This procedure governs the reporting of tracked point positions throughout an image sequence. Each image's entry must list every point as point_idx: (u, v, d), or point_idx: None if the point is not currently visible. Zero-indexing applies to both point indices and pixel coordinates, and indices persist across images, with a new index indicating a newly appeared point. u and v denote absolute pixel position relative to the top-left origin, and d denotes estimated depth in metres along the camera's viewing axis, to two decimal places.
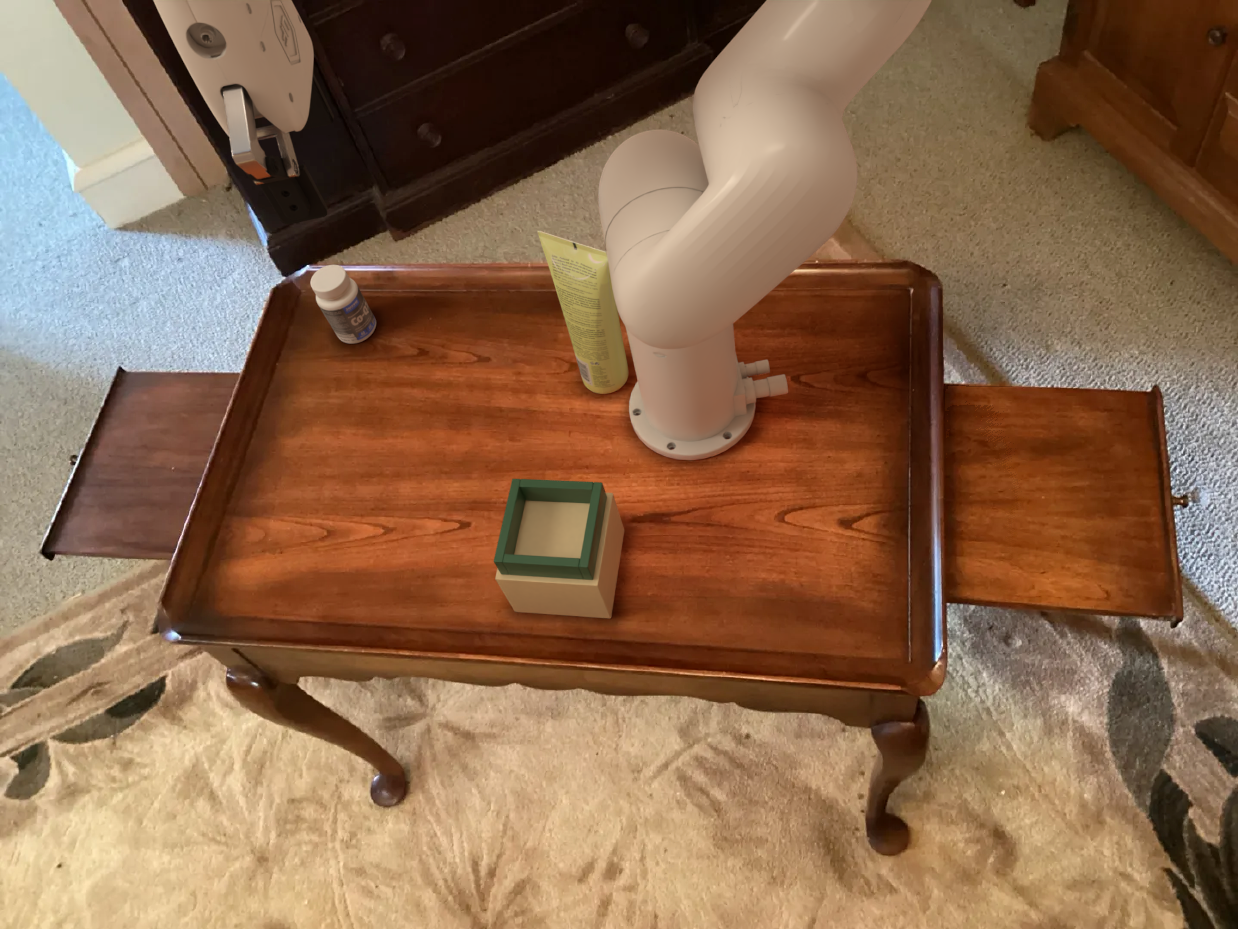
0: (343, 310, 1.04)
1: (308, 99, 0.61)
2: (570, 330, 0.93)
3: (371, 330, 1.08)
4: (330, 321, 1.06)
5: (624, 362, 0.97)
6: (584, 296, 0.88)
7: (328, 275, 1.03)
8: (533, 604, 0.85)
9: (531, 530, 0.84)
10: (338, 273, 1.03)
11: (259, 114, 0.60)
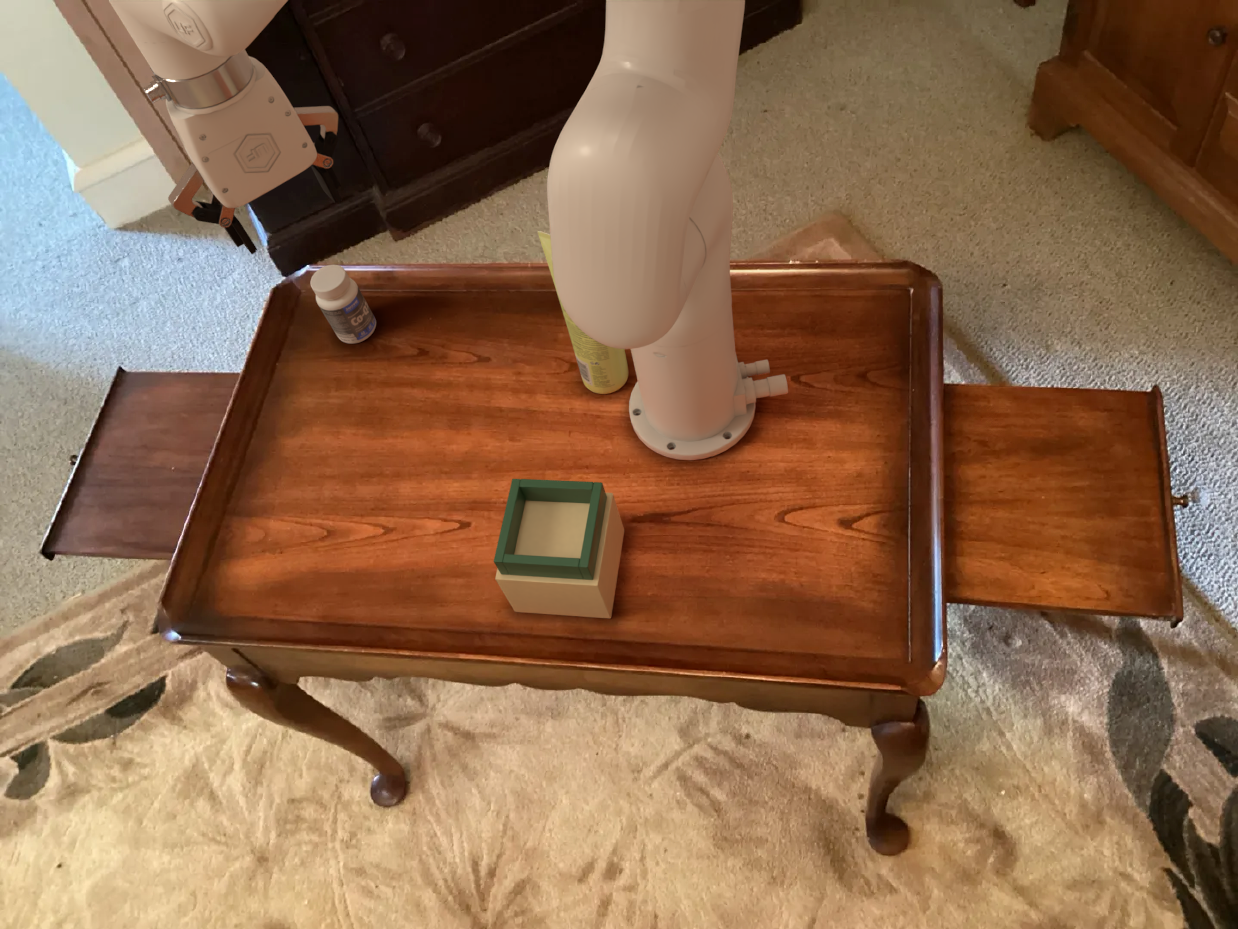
0: (343, 310, 1.04)
1: (258, 194, 0.89)
2: (570, 330, 0.93)
3: (371, 330, 1.08)
4: (330, 321, 1.06)
5: (624, 362, 0.97)
6: None
7: (328, 275, 1.03)
8: (533, 604, 0.85)
9: (531, 530, 0.84)
10: (338, 273, 1.03)
11: None
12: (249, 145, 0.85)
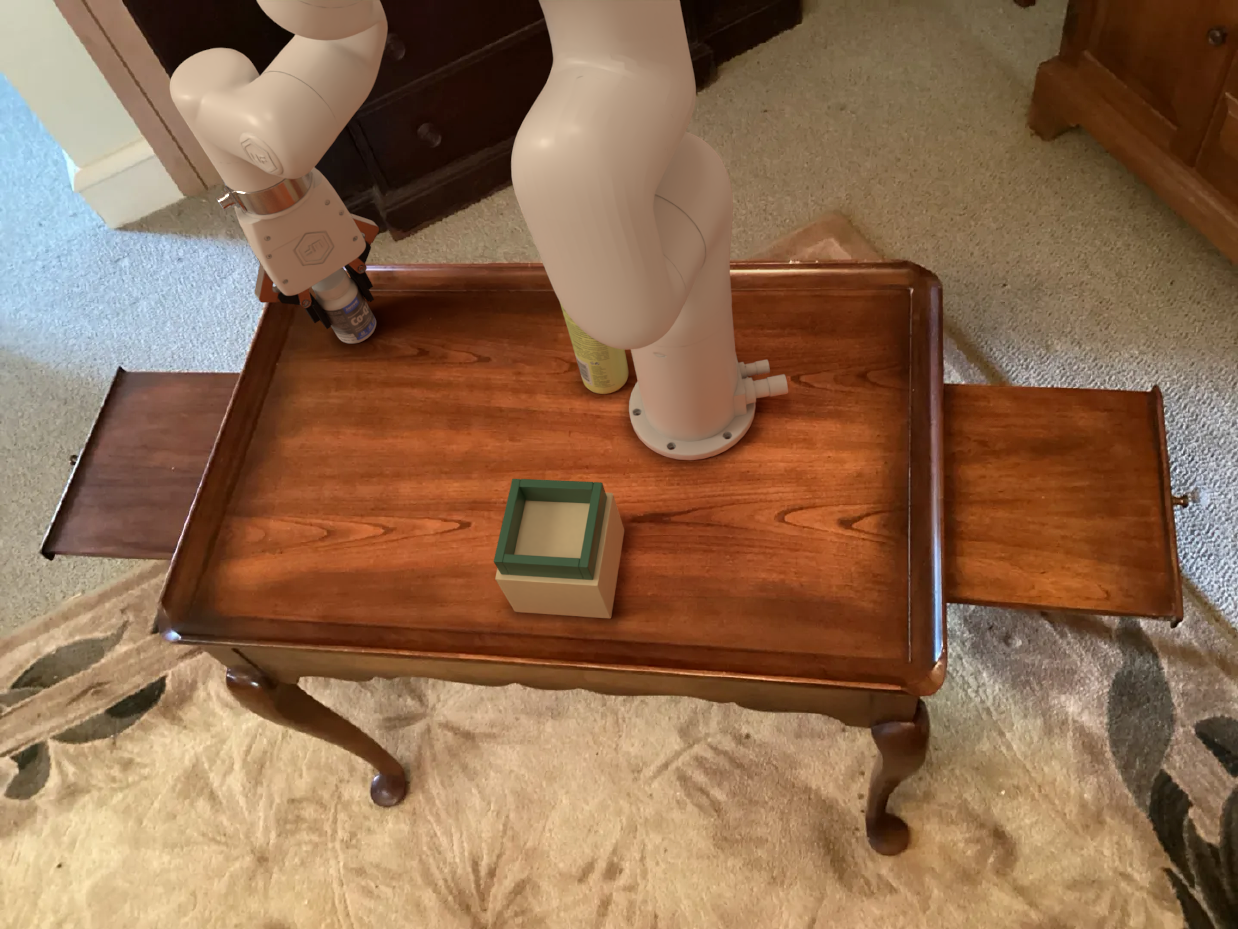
0: (343, 310, 1.04)
1: (313, 282, 0.99)
2: (570, 330, 0.93)
3: (371, 330, 1.08)
4: (330, 321, 1.06)
5: (624, 362, 0.97)
6: None
7: None
8: (533, 604, 0.85)
9: (531, 530, 0.84)
10: (338, 273, 1.03)
11: None
12: (307, 242, 0.95)
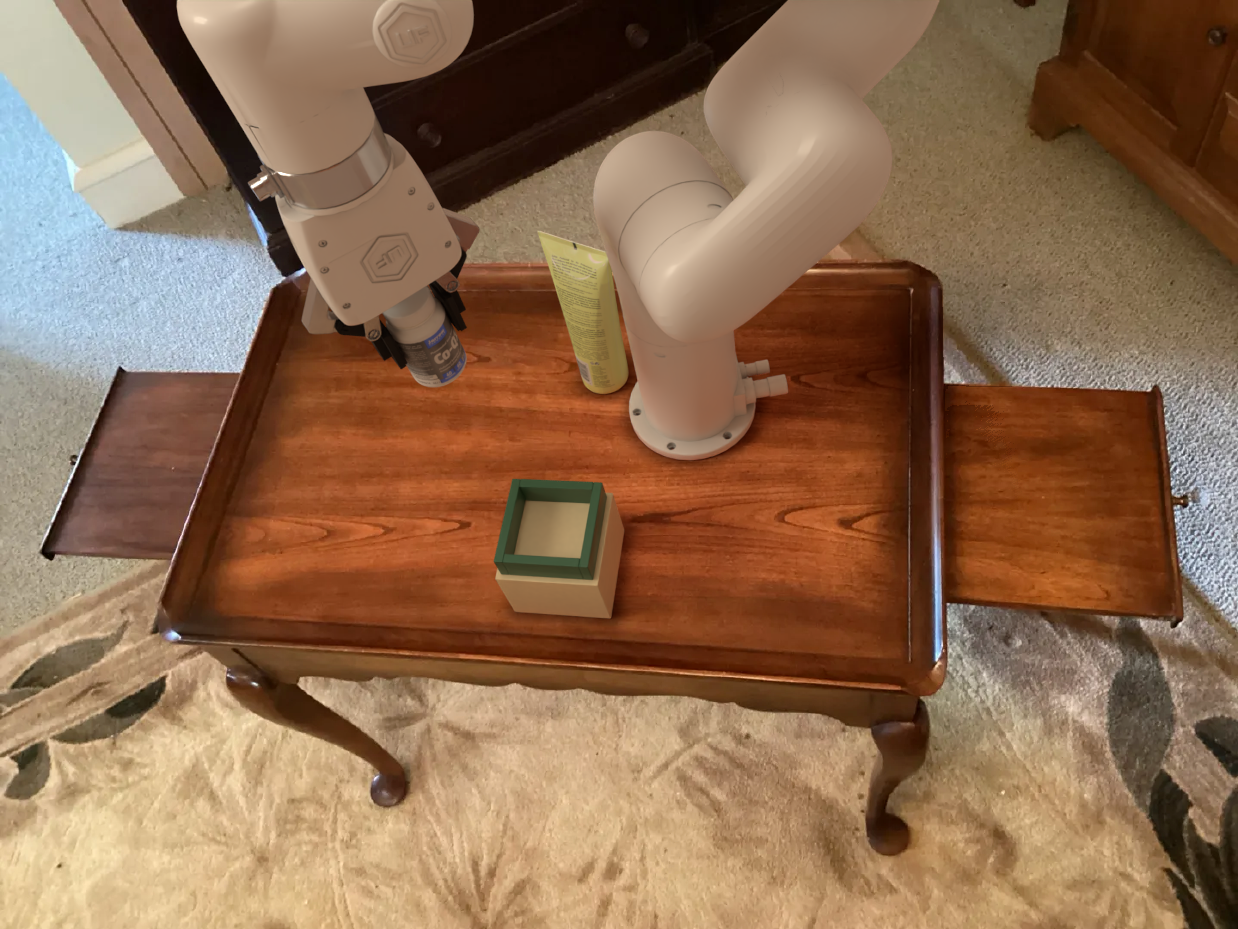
0: (424, 344, 0.73)
1: (386, 307, 0.68)
2: (570, 330, 0.93)
3: (460, 369, 0.78)
4: (405, 357, 0.75)
5: (624, 362, 0.97)
6: (584, 296, 0.88)
7: None
8: (533, 604, 0.85)
9: (531, 530, 0.84)
10: (418, 291, 0.72)
11: None
12: (380, 249, 0.65)
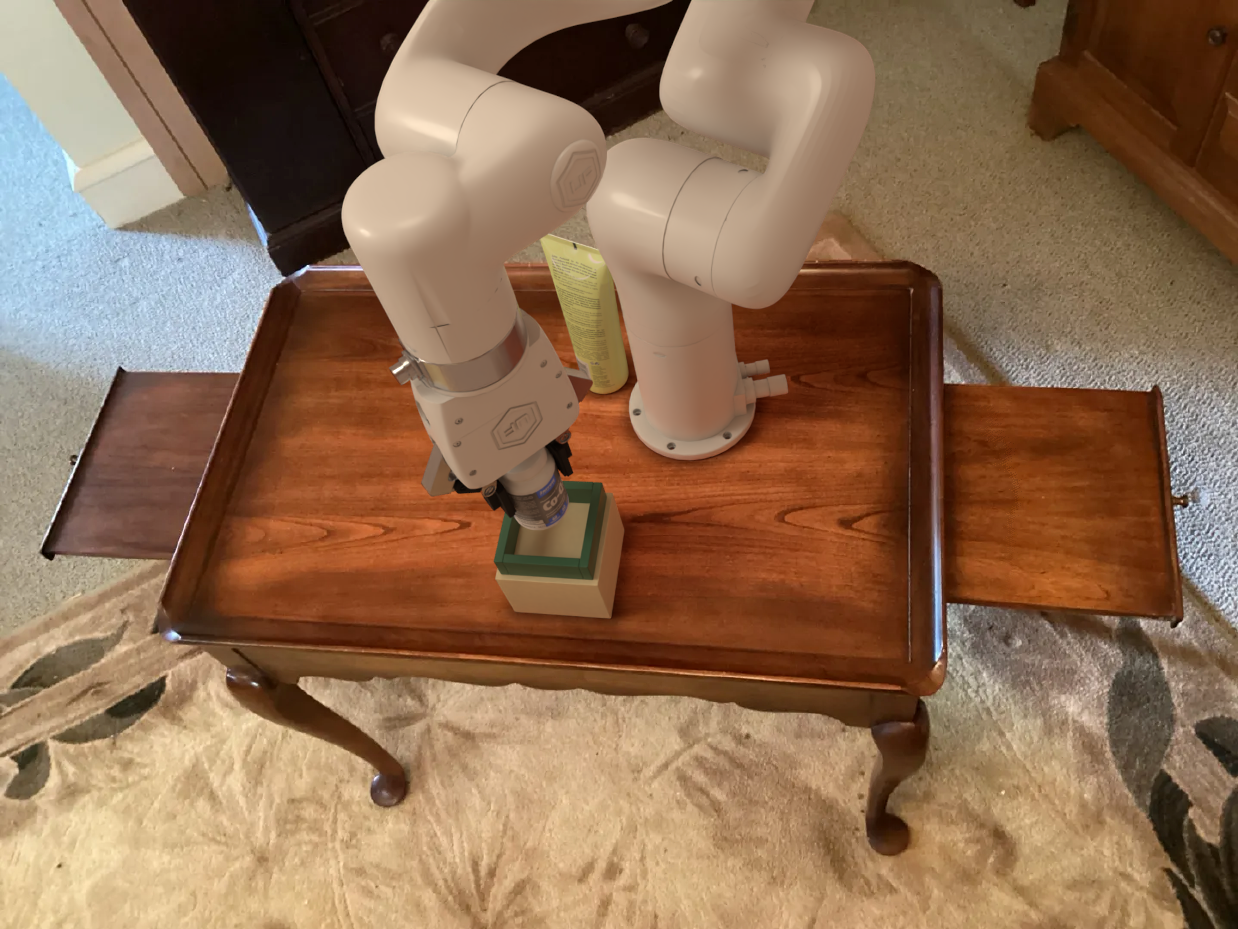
0: (536, 495, 0.73)
1: (508, 469, 0.68)
2: (570, 330, 0.93)
3: (564, 512, 0.77)
4: None
5: (624, 362, 0.97)
6: (584, 296, 0.88)
7: None
8: (533, 604, 0.85)
9: (531, 530, 0.84)
10: None
11: None
12: (509, 419, 0.64)
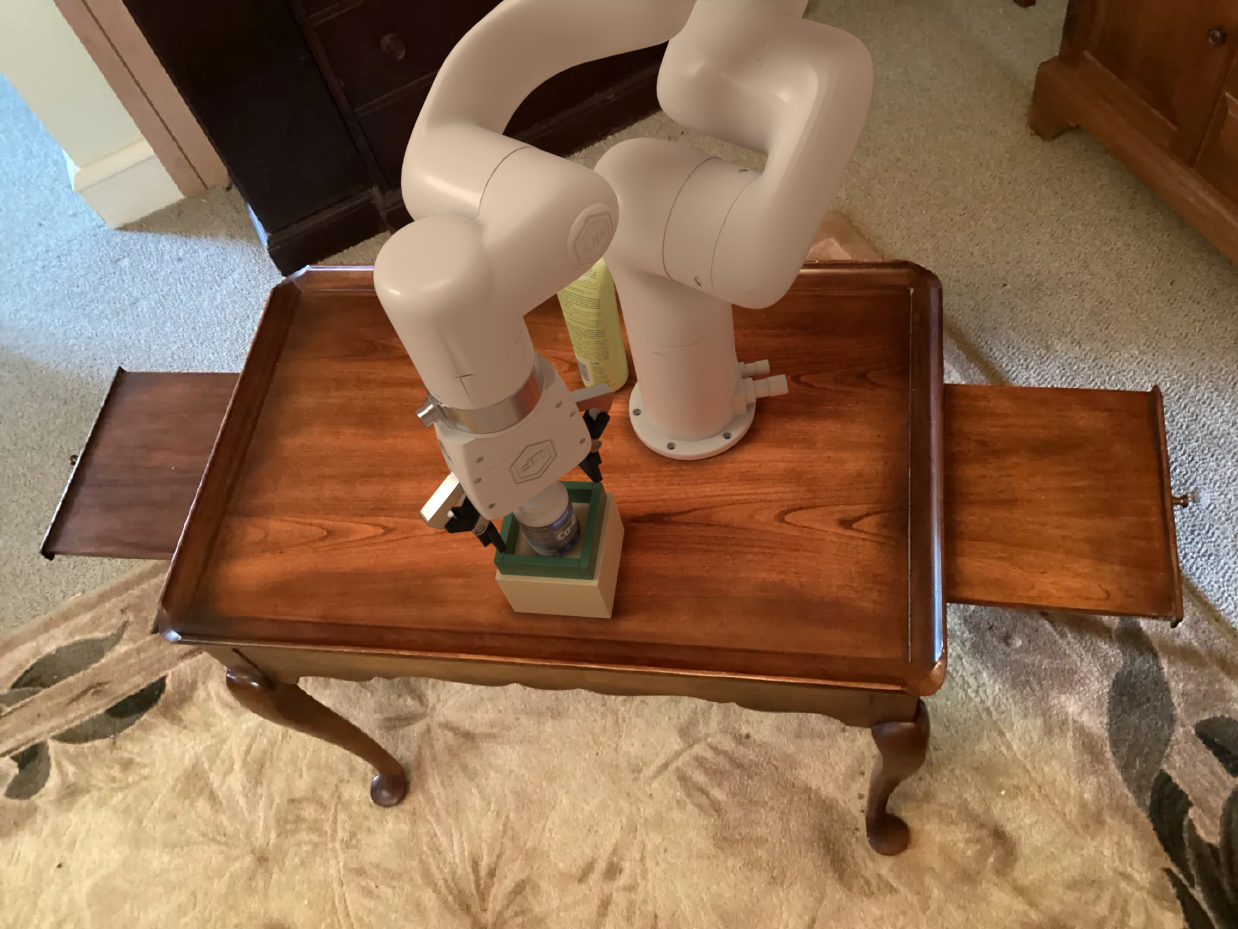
0: (550, 526, 0.77)
1: (525, 501, 0.72)
2: (570, 330, 0.93)
3: (576, 541, 0.82)
4: (528, 535, 0.79)
5: (624, 362, 0.97)
6: (584, 296, 0.88)
7: None
8: (533, 604, 0.85)
9: None
10: None
11: None
12: (526, 456, 0.68)
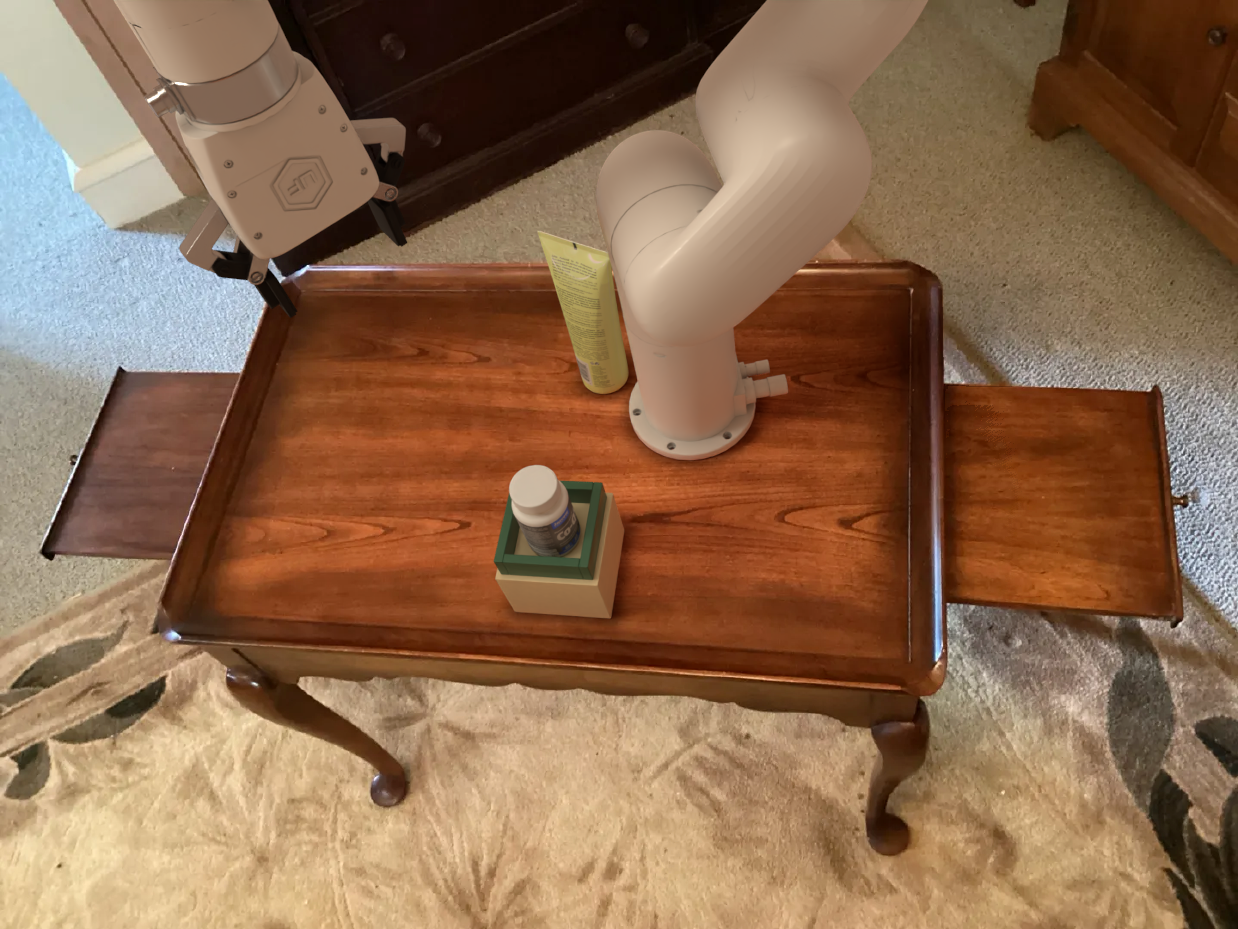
0: (550, 526, 0.77)
1: (301, 239, 0.65)
2: (570, 330, 0.93)
3: (576, 541, 0.82)
4: (528, 535, 0.79)
5: (624, 362, 0.97)
6: (584, 296, 0.88)
7: (533, 481, 0.76)
8: (533, 604, 0.85)
9: None
10: (546, 479, 0.76)
11: None
12: (291, 173, 0.61)
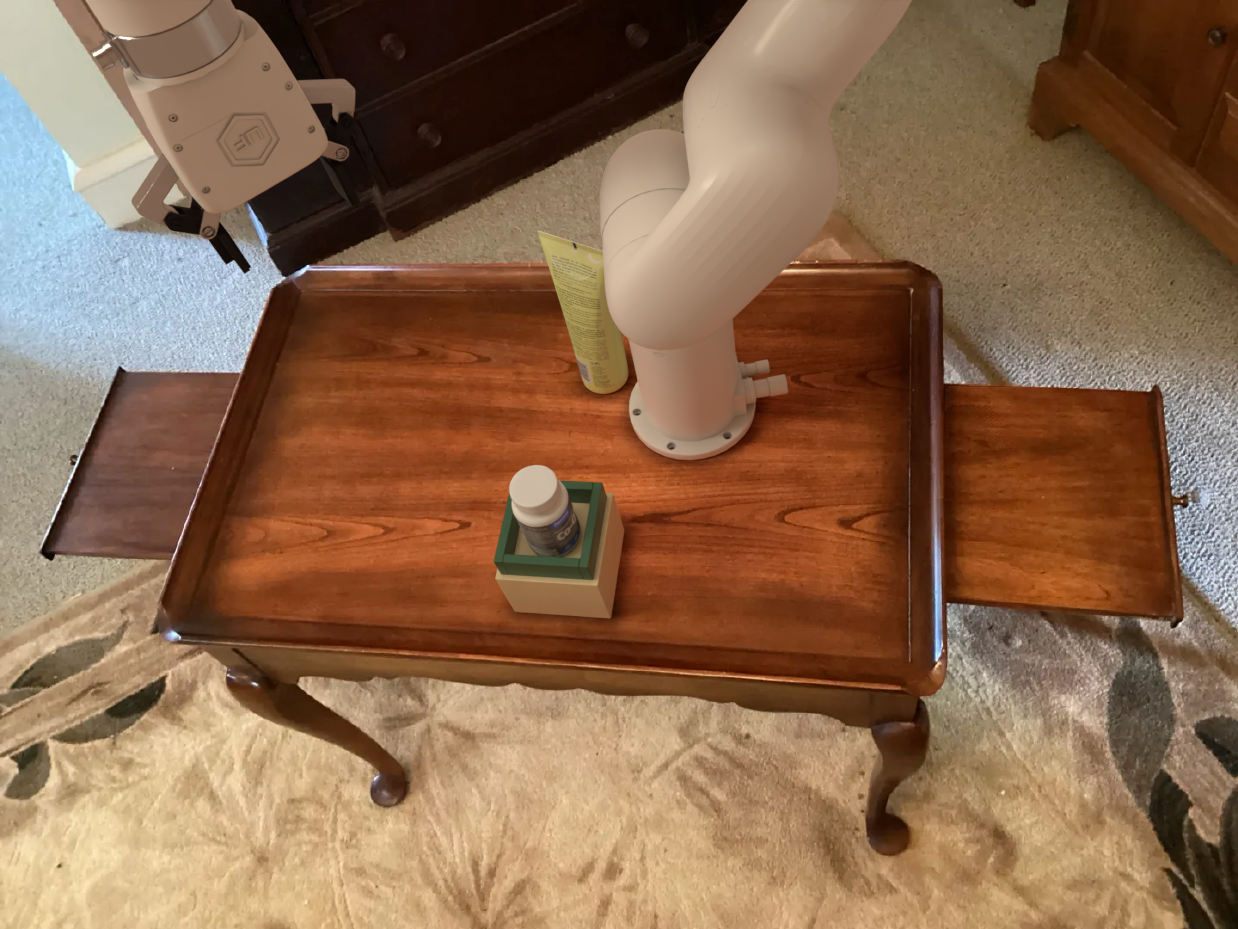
0: (550, 526, 0.77)
1: (250, 194, 0.67)
2: (570, 330, 0.93)
3: (576, 541, 0.82)
4: (528, 535, 0.79)
5: (624, 362, 0.97)
6: (584, 296, 0.88)
7: (533, 481, 0.76)
8: (533, 604, 0.85)
9: None
10: (546, 479, 0.76)
11: None
12: (237, 129, 0.63)
